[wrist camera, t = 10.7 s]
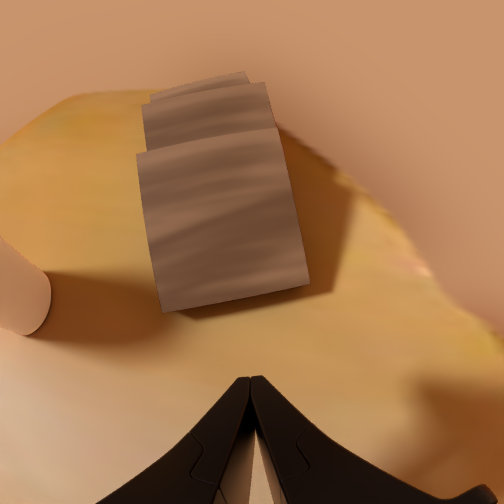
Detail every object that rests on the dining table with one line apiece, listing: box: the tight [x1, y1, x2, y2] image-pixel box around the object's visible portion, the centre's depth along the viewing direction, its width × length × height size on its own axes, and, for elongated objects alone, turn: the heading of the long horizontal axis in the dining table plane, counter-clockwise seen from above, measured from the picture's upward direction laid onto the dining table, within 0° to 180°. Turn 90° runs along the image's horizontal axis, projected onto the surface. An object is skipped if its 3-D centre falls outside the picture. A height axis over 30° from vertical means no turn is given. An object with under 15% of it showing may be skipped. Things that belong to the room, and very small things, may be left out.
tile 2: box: [141, 82, 276, 151], centre depth 22 cm, size 2×10×11 cm
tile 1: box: [136, 128, 310, 313], centre depth 20 cm, size 2×10×11 cm
